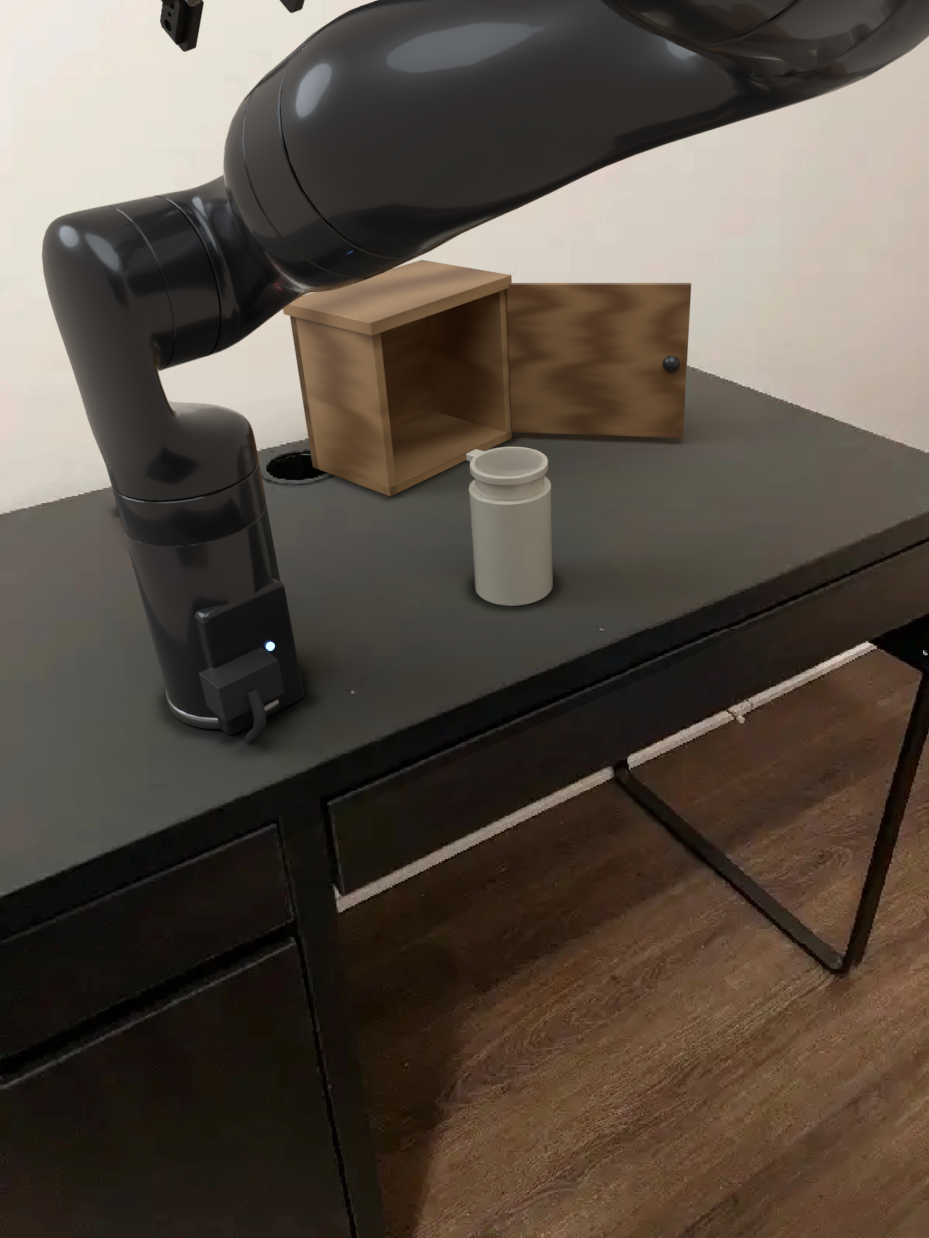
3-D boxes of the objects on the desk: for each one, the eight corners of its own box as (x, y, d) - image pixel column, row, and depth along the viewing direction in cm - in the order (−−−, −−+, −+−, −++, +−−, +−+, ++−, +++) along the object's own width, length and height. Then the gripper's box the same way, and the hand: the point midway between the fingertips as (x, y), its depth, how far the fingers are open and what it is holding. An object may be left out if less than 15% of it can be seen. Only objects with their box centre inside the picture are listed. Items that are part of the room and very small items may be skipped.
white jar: (569, 582, 84) (567, 458, 78) (517, 614, 81) (512, 487, 75) (503, 556, 89) (498, 436, 83) (452, 586, 85) (442, 463, 79)
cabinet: (684, 444, 107) (694, 274, 98) (507, 544, 90) (499, 353, 81) (486, 390, 124) (478, 242, 115) (307, 467, 108) (281, 302, 98)
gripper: (224, -159, 47) (180, 103, 61) (440, -214, 54) (355, 34, 68) (120, -287, 47) (100, 5, 61) (349, -325, 54) (283, -54, 68)
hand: (234, 20), depth 65 cm, fingers open, 8 cm apart
